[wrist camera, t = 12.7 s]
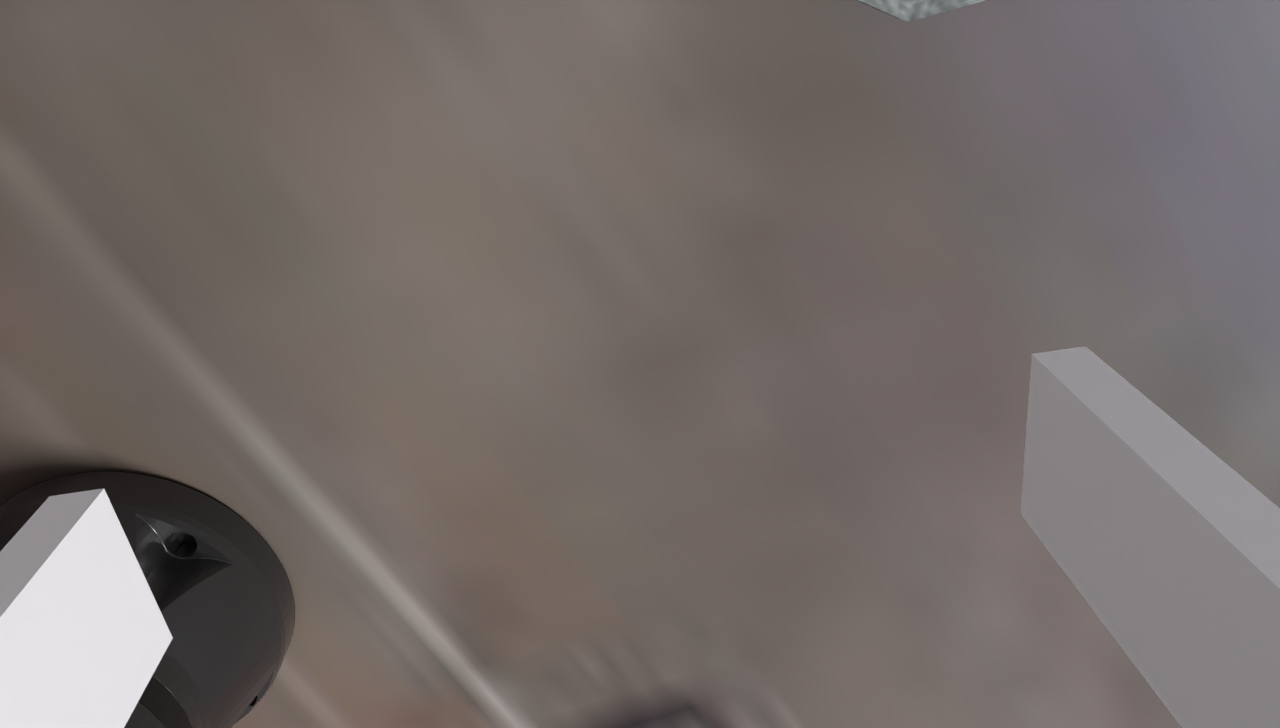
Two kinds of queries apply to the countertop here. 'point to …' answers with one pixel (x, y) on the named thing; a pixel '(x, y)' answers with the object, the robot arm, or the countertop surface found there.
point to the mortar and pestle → (916, 7)
